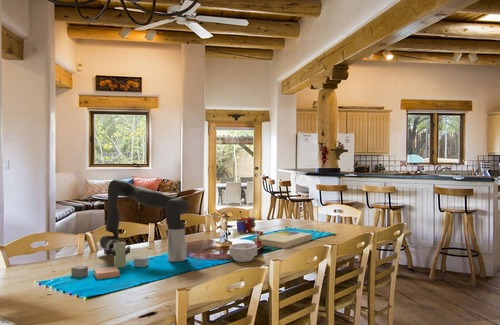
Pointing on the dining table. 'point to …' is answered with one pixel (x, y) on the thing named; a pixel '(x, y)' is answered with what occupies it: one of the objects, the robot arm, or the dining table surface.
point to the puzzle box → (284, 239)
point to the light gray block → (140, 261)
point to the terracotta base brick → (106, 272)
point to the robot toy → (245, 224)
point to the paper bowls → (243, 251)
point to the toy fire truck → (259, 239)
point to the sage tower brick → (120, 254)
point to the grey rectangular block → (79, 271)
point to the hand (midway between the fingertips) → (120, 253)
